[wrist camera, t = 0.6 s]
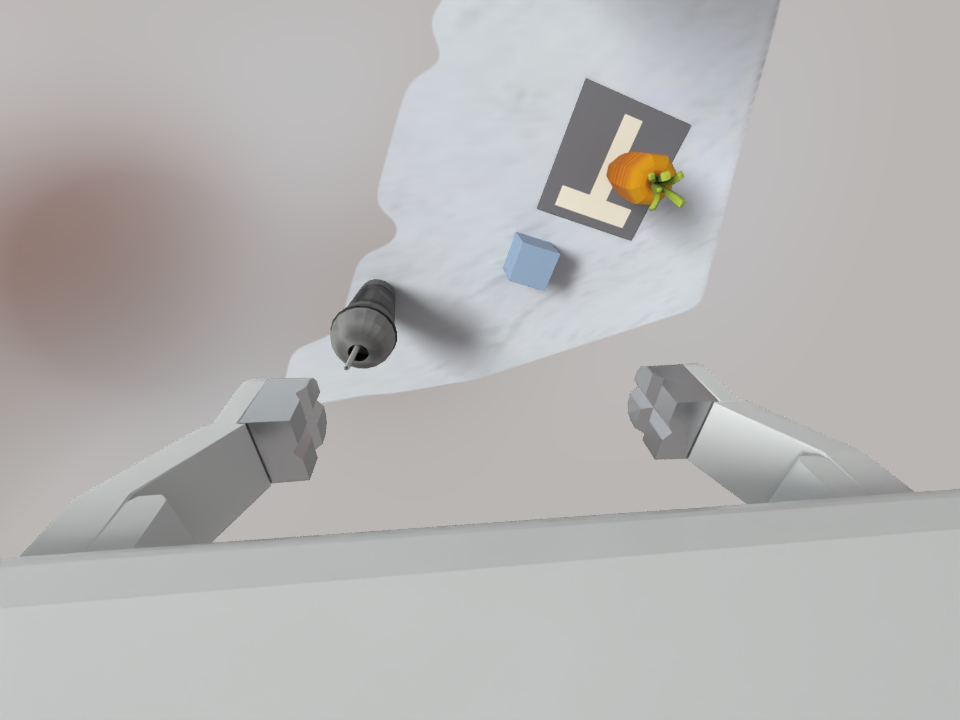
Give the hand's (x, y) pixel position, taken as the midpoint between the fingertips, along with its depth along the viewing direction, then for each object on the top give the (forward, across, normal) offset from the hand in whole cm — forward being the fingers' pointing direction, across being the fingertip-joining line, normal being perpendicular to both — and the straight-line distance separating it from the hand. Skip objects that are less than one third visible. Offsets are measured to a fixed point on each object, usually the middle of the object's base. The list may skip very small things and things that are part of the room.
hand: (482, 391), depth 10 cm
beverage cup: (+42, +10, +15) cm, 46 cm away
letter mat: (+42, -20, -1) cm, 47 cm away
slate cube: (+42, -10, +10) cm, 45 cm away
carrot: (+42, -20, -1) cm, 47 cm away
